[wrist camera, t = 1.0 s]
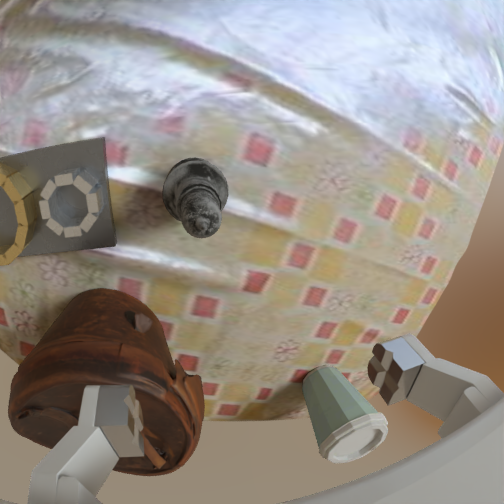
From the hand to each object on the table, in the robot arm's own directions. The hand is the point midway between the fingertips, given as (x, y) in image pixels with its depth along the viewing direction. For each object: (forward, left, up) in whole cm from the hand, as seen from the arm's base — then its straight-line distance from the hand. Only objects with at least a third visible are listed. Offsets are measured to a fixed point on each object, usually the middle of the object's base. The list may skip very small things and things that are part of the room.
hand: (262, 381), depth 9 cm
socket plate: (0, -18, -24) cm, 31 cm away
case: (+17, -12, -25) cm, 32 cm away
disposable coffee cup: (+32, +17, -25) cm, 44 cm away
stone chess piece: (0, 0, -25) cm, 25 cm away
